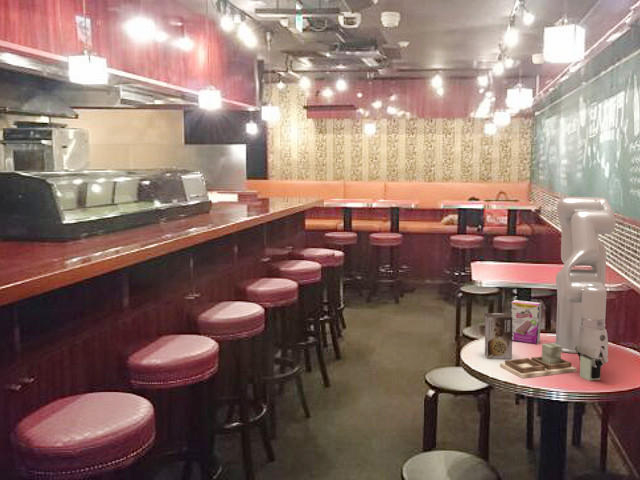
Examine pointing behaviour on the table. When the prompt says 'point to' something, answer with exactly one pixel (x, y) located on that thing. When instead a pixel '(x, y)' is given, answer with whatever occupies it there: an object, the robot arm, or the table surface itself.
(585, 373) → the sage block
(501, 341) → the cookie box
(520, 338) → the candy bar box
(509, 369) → the socket base
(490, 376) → the table surface
